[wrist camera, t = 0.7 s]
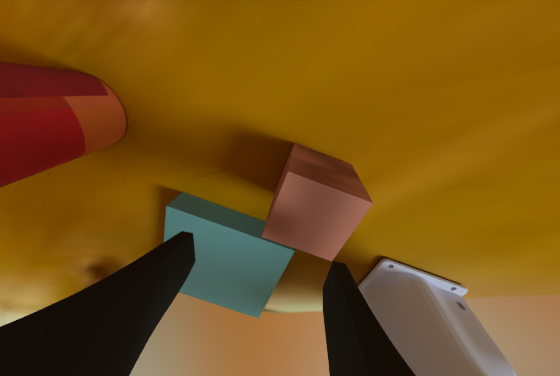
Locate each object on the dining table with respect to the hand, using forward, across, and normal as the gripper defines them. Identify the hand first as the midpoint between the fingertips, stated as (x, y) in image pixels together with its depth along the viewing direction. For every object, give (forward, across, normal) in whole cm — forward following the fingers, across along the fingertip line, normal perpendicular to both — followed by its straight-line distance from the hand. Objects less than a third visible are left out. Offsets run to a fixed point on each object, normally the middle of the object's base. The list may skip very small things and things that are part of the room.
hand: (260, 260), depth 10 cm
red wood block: (+9, -2, -1) cm, 9 cm away
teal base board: (+9, +5, +10) cm, 14 cm away
